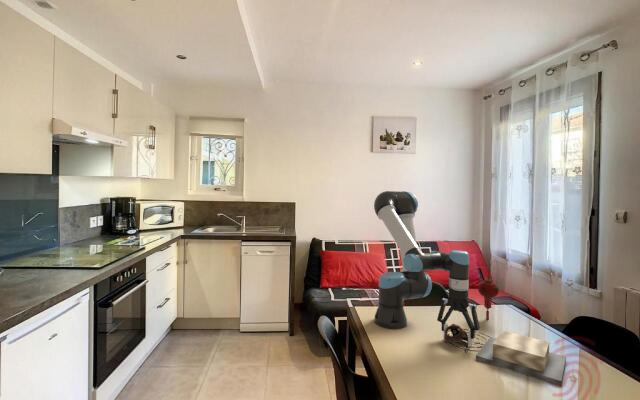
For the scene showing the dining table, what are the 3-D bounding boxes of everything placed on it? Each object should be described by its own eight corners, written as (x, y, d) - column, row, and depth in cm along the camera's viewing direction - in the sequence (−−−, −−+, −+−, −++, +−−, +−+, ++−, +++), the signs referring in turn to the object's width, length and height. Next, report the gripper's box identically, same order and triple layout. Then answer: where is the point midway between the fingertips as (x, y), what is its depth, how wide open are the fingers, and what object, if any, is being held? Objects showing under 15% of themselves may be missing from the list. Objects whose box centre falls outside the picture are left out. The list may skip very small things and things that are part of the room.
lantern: (490, 324, 161) (492, 261, 160) (472, 317, 169) (474, 258, 168) (502, 321, 165) (504, 260, 165) (484, 314, 174) (486, 257, 173)
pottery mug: (475, 349, 134) (467, 333, 133) (452, 357, 136) (444, 341, 134) (464, 330, 146) (457, 315, 144) (444, 337, 148) (436, 323, 146)
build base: (475, 359, 126) (476, 342, 125) (490, 340, 143) (490, 325, 142) (561, 385, 109) (561, 365, 109) (565, 360, 126) (566, 343, 126)
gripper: (429, 285, 143) (428, 337, 143) (484, 295, 129) (483, 353, 130) (435, 282, 149) (434, 332, 149) (489, 291, 135) (488, 347, 135)
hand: (457, 342), depth 139 cm, fingers closed on pottery mug, 9 cm apart
